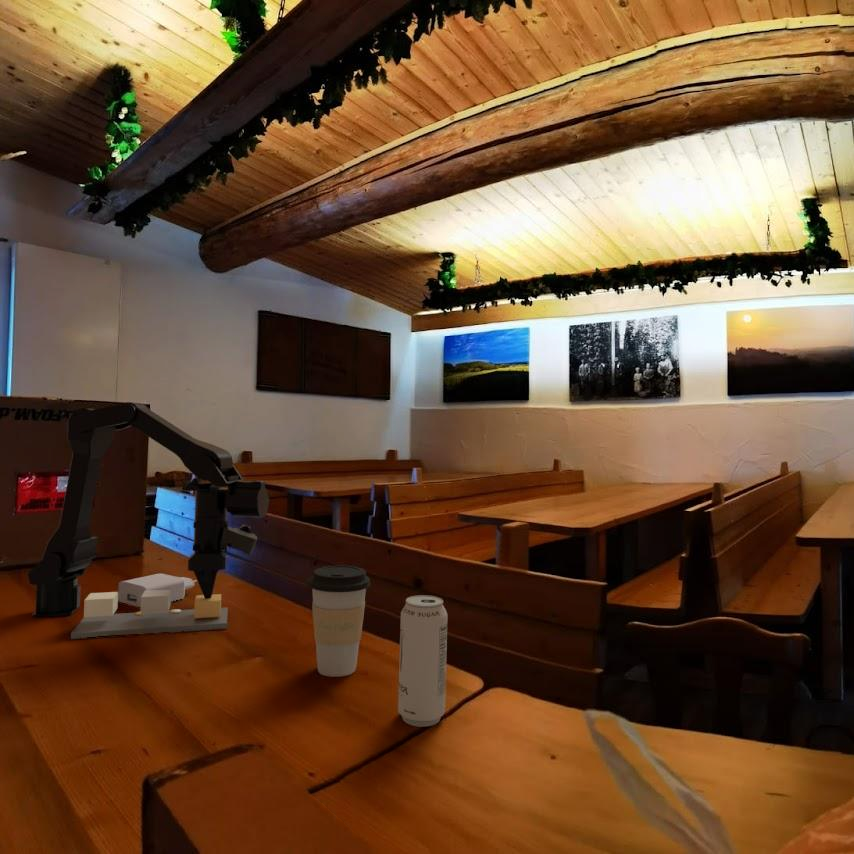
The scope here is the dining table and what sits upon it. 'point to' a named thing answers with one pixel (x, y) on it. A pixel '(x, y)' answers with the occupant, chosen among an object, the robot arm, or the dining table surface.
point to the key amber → (207, 606)
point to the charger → (153, 587)
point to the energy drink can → (422, 660)
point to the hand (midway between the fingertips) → (208, 598)
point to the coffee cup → (338, 617)
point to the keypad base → (147, 623)
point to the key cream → (101, 604)
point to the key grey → (155, 601)
